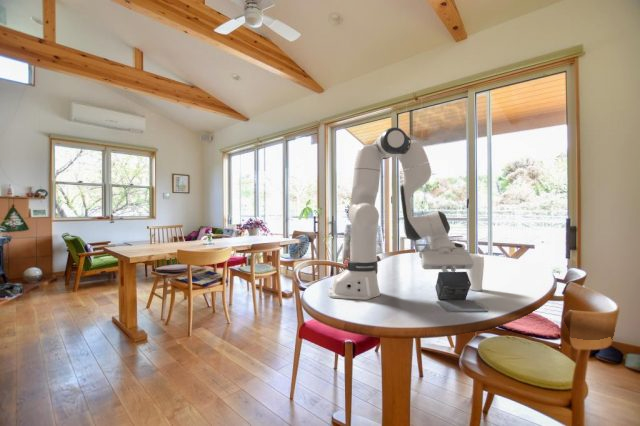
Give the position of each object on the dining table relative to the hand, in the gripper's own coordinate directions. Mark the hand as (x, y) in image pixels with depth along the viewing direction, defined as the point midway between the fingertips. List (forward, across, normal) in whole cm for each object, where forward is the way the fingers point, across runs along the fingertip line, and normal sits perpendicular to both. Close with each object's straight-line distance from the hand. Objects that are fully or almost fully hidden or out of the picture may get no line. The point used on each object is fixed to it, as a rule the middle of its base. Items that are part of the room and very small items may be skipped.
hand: (451, 276), depth 121 cm
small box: (+4, 0, +6) cm, 7 cm away
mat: (+13, 0, 0) cm, 13 cm away
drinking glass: (-4, +16, +17) cm, 23 cm away
